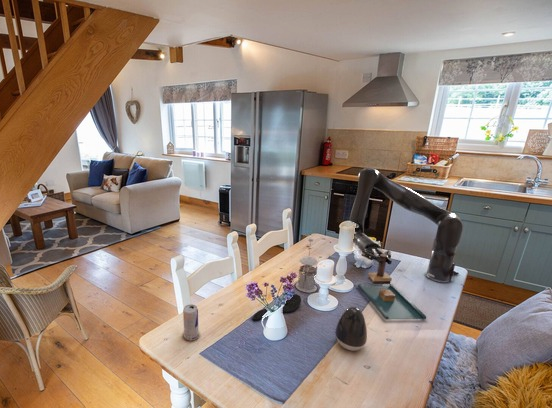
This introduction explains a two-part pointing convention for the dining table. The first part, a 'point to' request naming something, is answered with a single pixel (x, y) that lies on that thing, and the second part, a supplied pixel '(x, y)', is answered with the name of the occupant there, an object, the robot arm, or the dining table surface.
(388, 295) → the cork chunk
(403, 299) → the tray
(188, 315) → the energy drink
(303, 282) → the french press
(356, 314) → the black egg shaped diffuser
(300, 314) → the dining table surface
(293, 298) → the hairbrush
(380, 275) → the wooden dowel stand
